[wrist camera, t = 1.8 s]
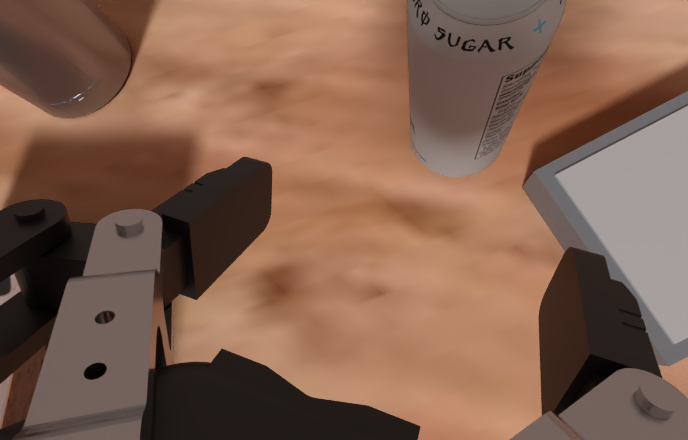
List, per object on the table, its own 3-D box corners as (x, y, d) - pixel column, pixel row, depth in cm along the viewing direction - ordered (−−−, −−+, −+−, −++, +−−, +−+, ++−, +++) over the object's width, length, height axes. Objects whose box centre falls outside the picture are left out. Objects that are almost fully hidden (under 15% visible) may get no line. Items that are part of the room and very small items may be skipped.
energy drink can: (437, 87, 31) (455, -123, 17) (517, 123, 29) (613, -76, 15) (394, 157, 30) (375, -1, 16) (474, 197, 29) (532, 62, 14)
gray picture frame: (522, 187, 28) (534, 169, 25) (690, 99, 28) (723, 71, 25) (639, 362, 25) (671, 366, 22) (833, 264, 24) (892, 255, 21)
